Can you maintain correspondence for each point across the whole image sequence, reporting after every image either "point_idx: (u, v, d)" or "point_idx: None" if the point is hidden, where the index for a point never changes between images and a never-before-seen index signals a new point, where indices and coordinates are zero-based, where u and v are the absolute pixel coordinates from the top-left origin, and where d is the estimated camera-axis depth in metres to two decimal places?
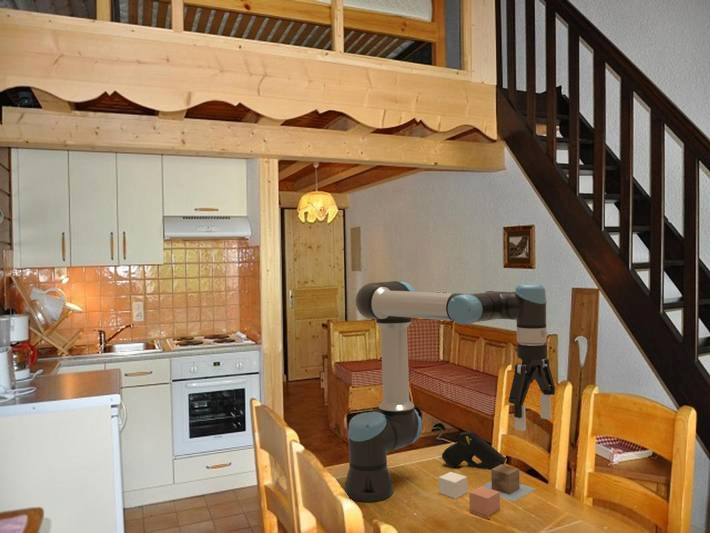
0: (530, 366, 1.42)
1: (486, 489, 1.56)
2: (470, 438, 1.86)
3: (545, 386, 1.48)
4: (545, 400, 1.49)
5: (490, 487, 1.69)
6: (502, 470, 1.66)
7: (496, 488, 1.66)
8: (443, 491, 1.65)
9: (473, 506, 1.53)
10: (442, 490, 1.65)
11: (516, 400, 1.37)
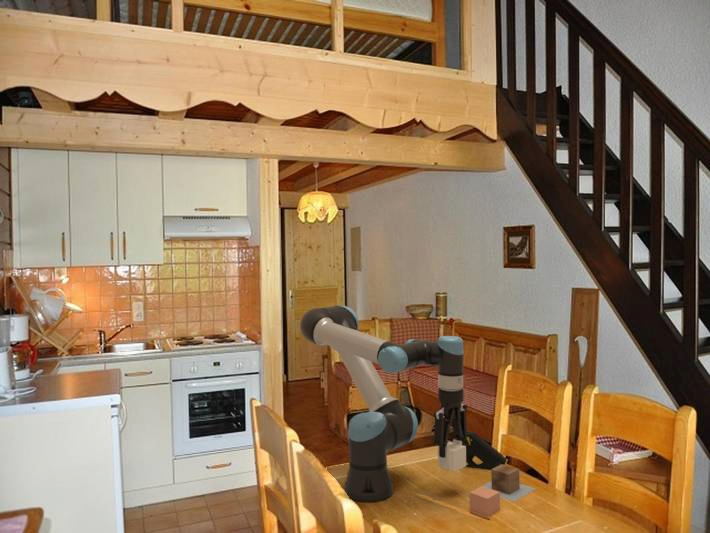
0: (447, 409, 1.63)
1: (486, 489, 1.56)
2: (471, 438, 1.85)
3: (458, 430, 1.67)
4: None
5: (490, 487, 1.69)
6: (502, 470, 1.66)
7: (496, 488, 1.66)
8: None
9: (473, 506, 1.53)
10: None
11: (439, 444, 1.61)
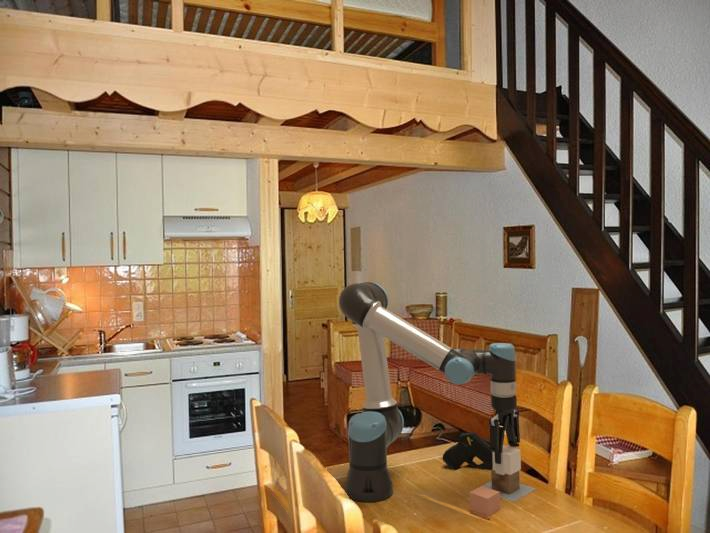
0: (502, 415, 1.64)
1: (486, 489, 1.56)
2: (472, 439, 1.85)
3: (512, 436, 1.69)
4: None
5: (490, 487, 1.69)
6: None
7: (496, 488, 1.66)
8: None
9: (473, 506, 1.53)
10: None
11: (496, 450, 1.62)
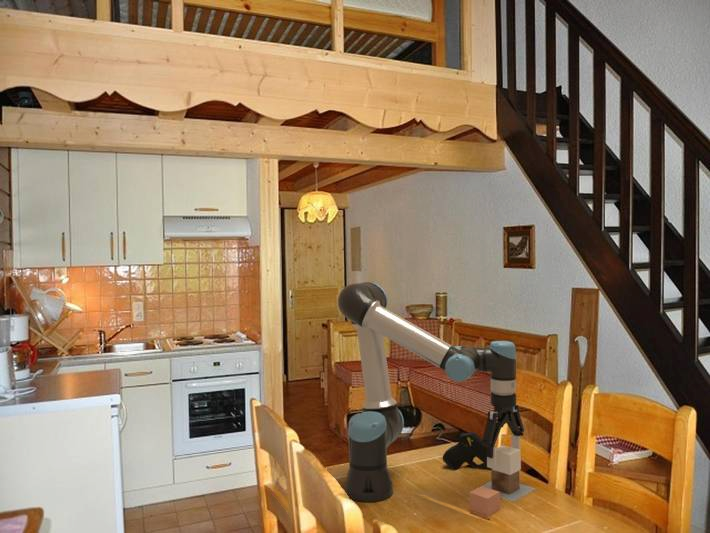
0: (501, 413, 1.65)
1: (486, 489, 1.56)
2: (472, 439, 1.85)
3: (515, 429, 1.71)
4: (515, 440, 1.72)
5: (490, 487, 1.69)
6: None
7: (496, 488, 1.66)
8: (497, 464, 1.66)
9: (473, 506, 1.53)
10: (496, 463, 1.66)
11: (488, 443, 1.60)
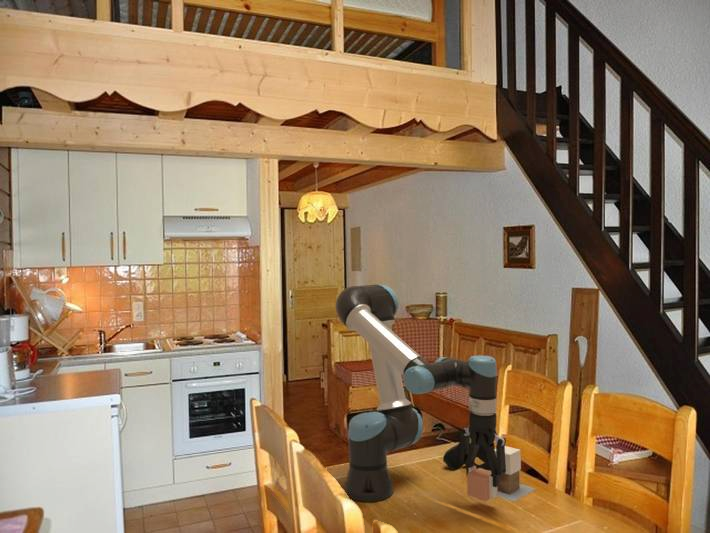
0: (471, 429, 1.56)
1: (484, 471, 1.56)
2: None
3: None
4: None
5: None
6: None
7: None
8: None
9: (471, 487, 1.54)
10: None
11: None
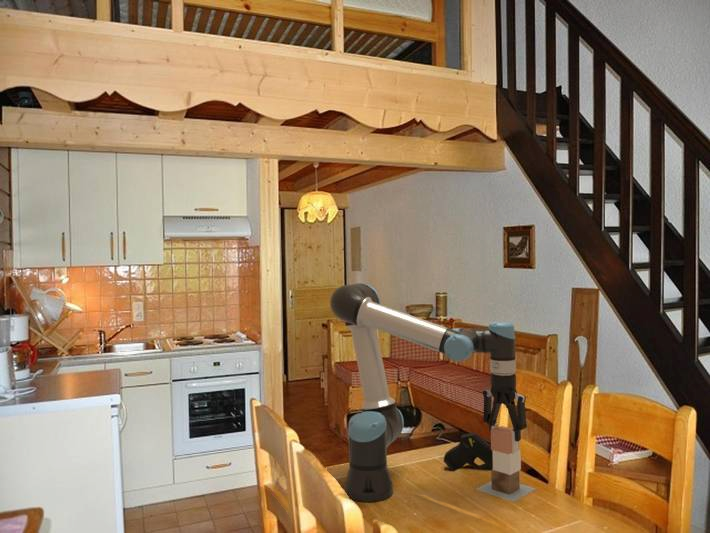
0: (492, 390, 1.69)
1: (506, 428, 1.69)
2: (473, 440, 1.84)
3: None
4: None
5: (490, 487, 1.69)
6: None
7: (496, 488, 1.66)
8: (497, 464, 1.66)
9: (494, 442, 1.67)
10: (496, 463, 1.66)
11: None
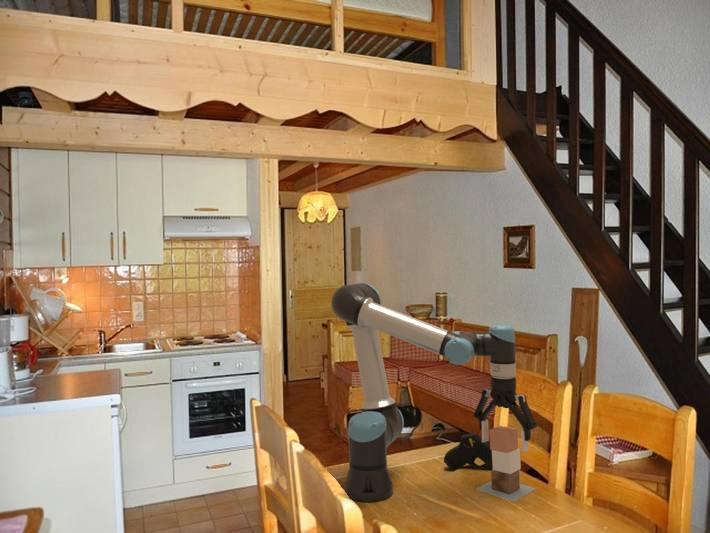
0: (493, 393, 1.69)
1: (504, 427, 1.69)
2: (474, 440, 1.84)
3: None
4: None
5: (490, 487, 1.69)
6: None
7: (496, 488, 1.66)
8: (497, 464, 1.66)
9: (493, 442, 1.67)
10: (495, 462, 1.66)
11: None
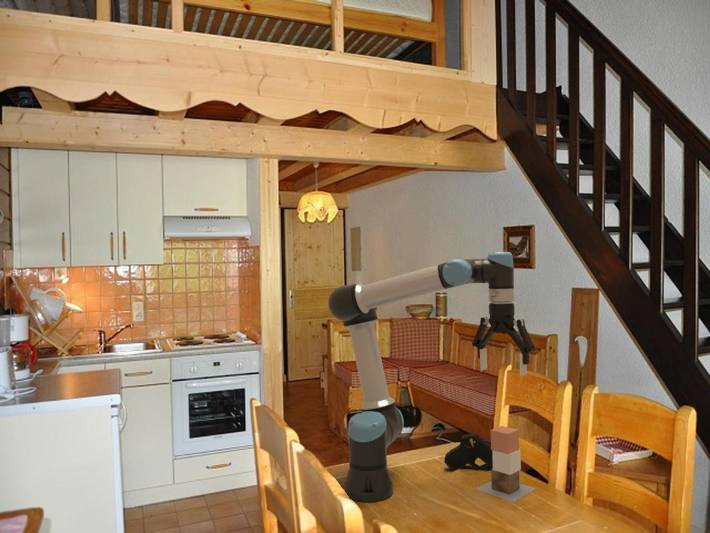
0: (491, 320, 1.69)
1: (506, 428, 1.69)
2: (474, 440, 1.84)
3: None
4: None
5: (490, 487, 1.69)
6: None
7: (496, 488, 1.66)
8: (497, 464, 1.66)
9: (494, 442, 1.67)
10: (496, 463, 1.66)
11: None
